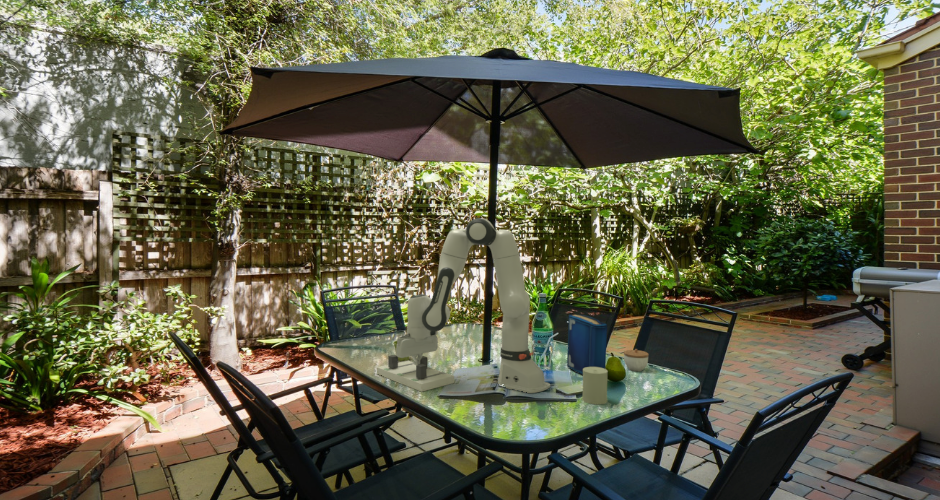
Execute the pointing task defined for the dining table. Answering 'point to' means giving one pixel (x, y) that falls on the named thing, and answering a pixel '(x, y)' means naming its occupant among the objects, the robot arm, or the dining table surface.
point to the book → (586, 343)
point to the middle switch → (423, 360)
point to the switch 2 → (421, 371)
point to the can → (594, 385)
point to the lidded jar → (636, 359)
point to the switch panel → (408, 376)
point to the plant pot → (399, 357)
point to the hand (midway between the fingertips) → (417, 364)
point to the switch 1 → (393, 361)
